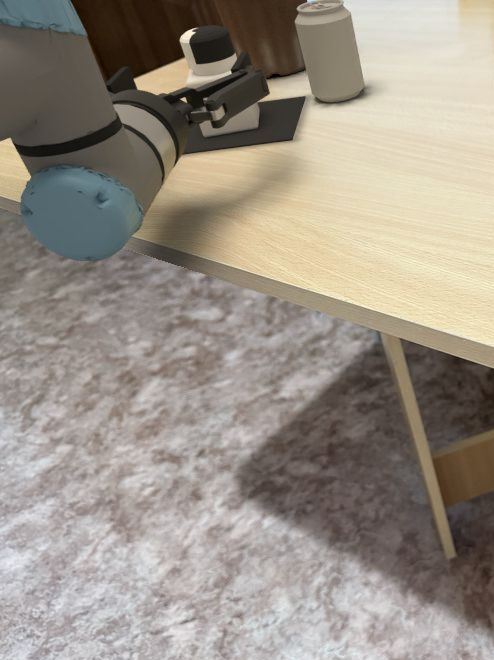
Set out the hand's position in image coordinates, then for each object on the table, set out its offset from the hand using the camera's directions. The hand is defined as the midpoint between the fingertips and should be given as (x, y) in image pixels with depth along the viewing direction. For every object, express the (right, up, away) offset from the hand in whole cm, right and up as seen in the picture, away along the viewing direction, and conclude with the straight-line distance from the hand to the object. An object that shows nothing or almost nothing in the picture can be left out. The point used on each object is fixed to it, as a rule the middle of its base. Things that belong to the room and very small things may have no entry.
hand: (189, 71), depth 79 cm
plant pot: (+1, +14, +33) cm, 36 cm away
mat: (0, -2, +14) cm, 14 cm away
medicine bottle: (0, -2, +14) cm, 14 cm away
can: (+14, +4, +19) cm, 24 cm away
